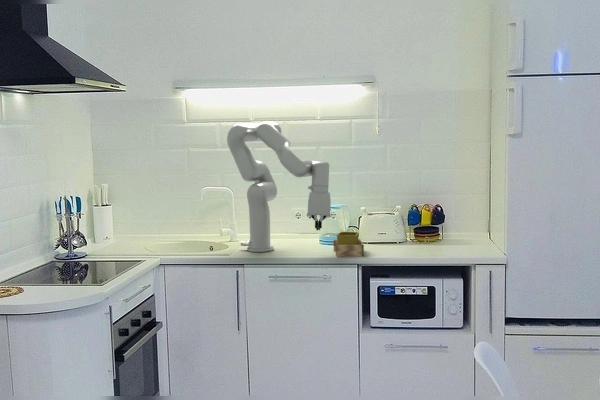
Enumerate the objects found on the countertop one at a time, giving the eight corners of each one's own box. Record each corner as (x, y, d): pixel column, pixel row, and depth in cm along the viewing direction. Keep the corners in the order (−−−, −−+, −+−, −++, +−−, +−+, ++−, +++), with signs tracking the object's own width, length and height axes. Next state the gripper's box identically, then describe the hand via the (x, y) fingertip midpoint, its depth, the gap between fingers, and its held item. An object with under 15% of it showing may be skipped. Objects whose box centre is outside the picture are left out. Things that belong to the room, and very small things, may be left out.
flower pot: (356, 255, 288) (355, 235, 287) (336, 254, 290) (336, 234, 289) (359, 251, 296) (359, 232, 296) (340, 251, 299) (340, 231, 298)
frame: (335, 256, 285) (335, 245, 285) (333, 250, 300) (333, 240, 299) (363, 256, 285) (363, 244, 285) (360, 250, 300) (360, 239, 299)
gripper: (303, 189, 286) (301, 230, 288) (337, 190, 286) (335, 231, 288) (302, 187, 293) (301, 227, 295) (336, 188, 293) (334, 229, 296)
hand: (318, 229), depth 292 cm, fingers closed
